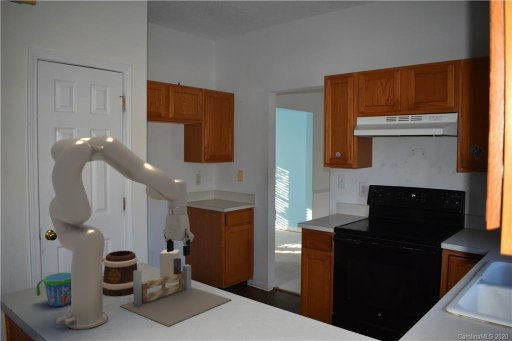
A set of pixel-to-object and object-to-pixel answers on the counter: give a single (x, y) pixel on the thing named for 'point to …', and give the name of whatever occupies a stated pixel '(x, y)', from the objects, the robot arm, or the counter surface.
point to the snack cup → (57, 288)
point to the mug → (119, 272)
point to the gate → (162, 281)
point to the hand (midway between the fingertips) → (178, 253)
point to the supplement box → (167, 262)
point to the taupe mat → (177, 306)
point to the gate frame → (138, 283)
